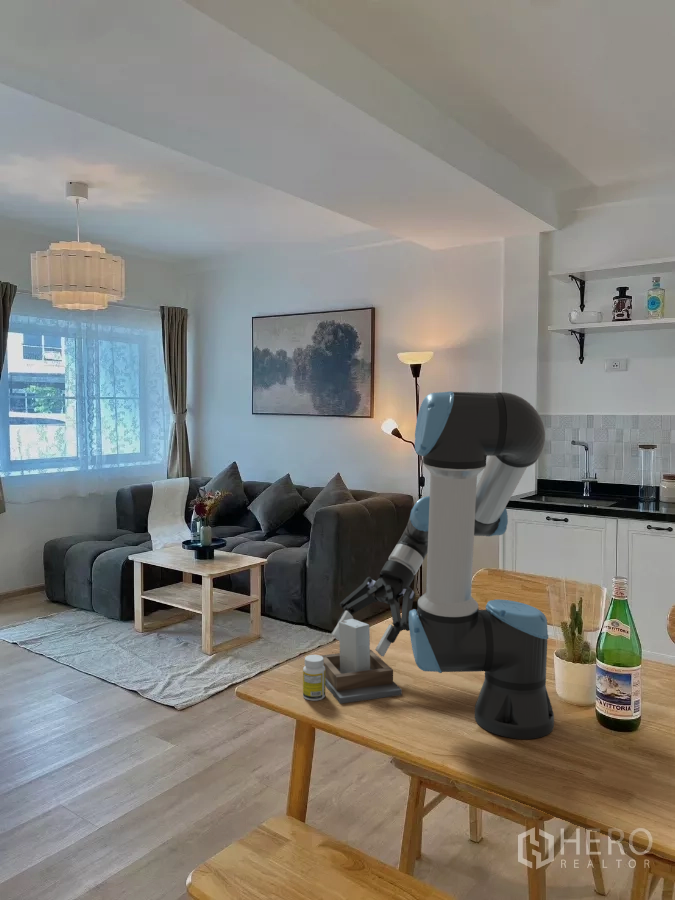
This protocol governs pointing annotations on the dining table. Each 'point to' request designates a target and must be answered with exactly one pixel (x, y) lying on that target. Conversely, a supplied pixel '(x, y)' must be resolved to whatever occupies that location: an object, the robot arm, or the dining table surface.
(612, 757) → the dining table surface
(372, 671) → the collar stand
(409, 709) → the dining table surface
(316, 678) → the supplement bottle
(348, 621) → the skincare box
